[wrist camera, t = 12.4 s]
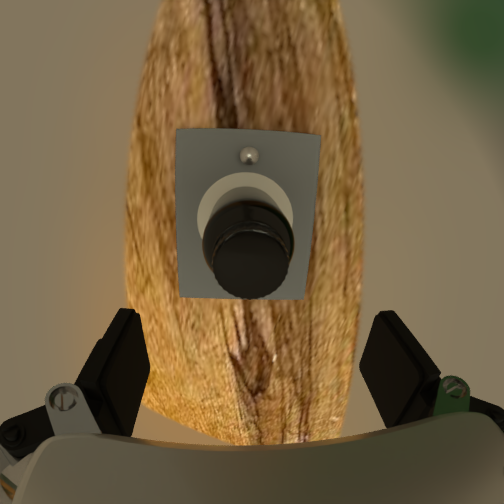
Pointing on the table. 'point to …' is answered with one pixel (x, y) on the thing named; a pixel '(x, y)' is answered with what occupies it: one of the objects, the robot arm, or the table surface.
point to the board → (238, 175)
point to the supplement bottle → (248, 243)
